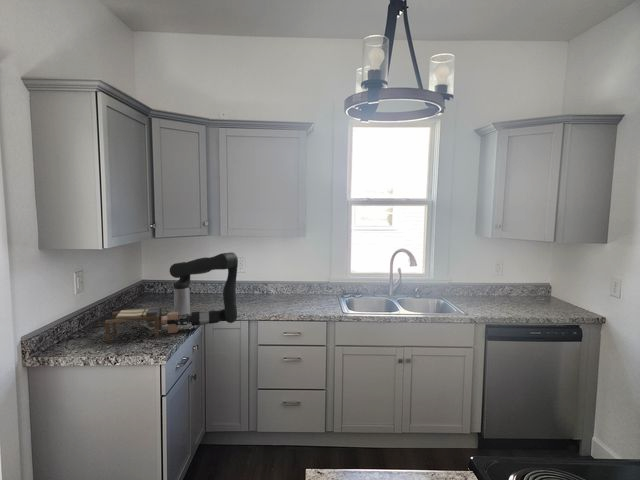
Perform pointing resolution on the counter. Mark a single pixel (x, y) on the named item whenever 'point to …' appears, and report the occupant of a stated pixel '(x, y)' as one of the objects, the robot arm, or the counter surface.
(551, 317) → the counter surface
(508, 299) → the counter surface
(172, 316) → the block
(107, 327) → the wooden legged stool
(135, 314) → the trapdoor
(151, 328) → the packaged product
